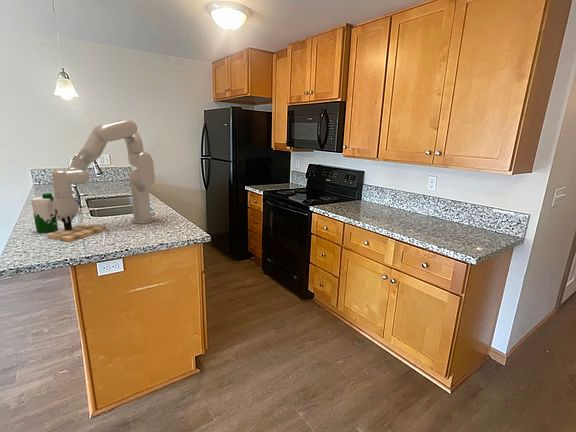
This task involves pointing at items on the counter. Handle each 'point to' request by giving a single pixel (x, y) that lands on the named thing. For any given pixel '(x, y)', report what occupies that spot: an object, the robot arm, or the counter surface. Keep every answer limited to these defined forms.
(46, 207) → the milk carton
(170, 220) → the counter surface
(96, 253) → the counter surface
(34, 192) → the counter surface
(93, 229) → the laid floor row
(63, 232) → the tan wooden board
